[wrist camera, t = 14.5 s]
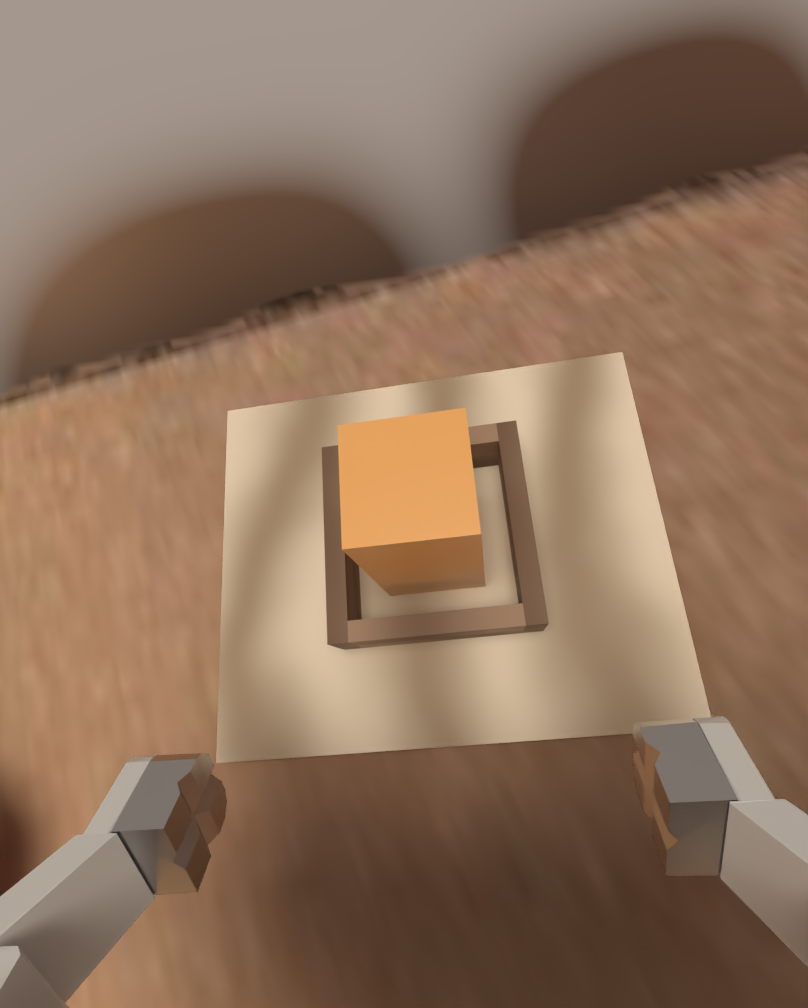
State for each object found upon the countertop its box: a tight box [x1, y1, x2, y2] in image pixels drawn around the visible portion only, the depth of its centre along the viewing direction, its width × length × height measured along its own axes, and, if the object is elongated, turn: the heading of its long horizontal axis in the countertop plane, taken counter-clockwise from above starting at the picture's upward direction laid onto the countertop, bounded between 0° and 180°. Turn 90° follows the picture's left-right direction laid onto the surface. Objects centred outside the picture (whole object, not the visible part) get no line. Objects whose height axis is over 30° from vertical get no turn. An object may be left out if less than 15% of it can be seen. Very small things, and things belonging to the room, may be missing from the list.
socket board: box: [216, 352, 711, 763], centre depth 23 cm, size 19×16×4 cm
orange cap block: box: [337, 408, 486, 596], centre depth 20 cm, size 4×4×8 cm
